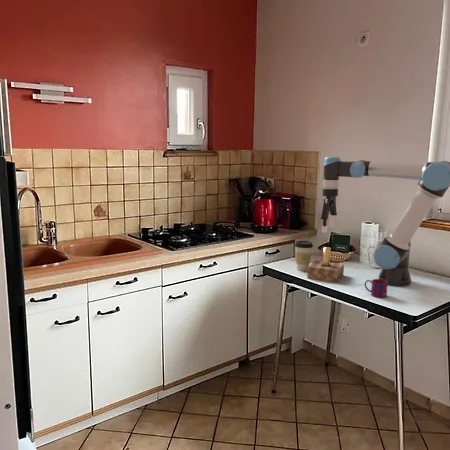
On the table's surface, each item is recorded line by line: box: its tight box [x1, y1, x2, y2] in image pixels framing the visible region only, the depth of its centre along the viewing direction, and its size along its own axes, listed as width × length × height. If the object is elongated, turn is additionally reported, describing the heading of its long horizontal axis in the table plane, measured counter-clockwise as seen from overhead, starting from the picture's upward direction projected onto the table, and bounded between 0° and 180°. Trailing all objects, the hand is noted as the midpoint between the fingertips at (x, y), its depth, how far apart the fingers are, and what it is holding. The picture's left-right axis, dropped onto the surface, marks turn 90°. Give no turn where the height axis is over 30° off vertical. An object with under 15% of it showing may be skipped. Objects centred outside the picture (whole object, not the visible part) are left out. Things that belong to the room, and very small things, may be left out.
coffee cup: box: [294, 240, 314, 272], centre depth 246 cm, size 10×10×15 cm
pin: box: [322, 246, 332, 267], centre depth 234 cm, size 4×4×14 cm
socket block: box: [306, 259, 345, 283], centre depth 234 cm, size 15×14×6 cm
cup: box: [364, 278, 389, 299], centre depth 208 cm, size 7×10×7 cm
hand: (328, 230), depth 230 cm, fingers open, 13 cm apart
